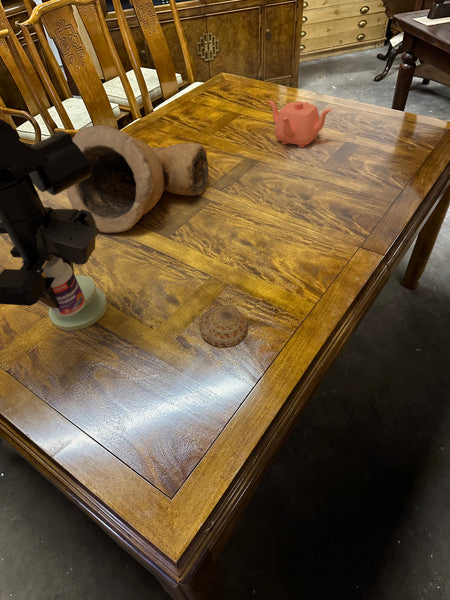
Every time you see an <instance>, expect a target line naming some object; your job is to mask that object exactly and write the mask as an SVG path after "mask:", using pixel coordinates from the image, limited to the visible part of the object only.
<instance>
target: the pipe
mask: <svg viewBox="0 0 450 600" xmlns="http://www.w3.org/2000/svg"><path fill="white" fill-rule="evenodd" d="M72 140H73V142H74V143H75V144H76V145H77V146H78V147H79V149H80V150H81V151H82V153H83V154H84V156H85V158H87V159H88V162H89V164H90V168H91V175H90V177H89V178H87V179H85V180H83V181H81V182H79V183H77V184H76V185H74V186H72V187H70V188H68V189H66V190H65V191H66V195H67V198H68V201H69V203H70V205H71V207H72V209H77V210H79V211H80V210H82V209H83V210H86V211H89V212H91V214H92V216H93V218H94V220H95V222H96V225H97V228H98V229H99V232H101V233H107V234H109V233H111V234H112V233H122V232H127V231H129V230H131V229H132V228H133V227H134V226H135V225H136V224H137V222H139V221H140V219H141V218H142V216H144V215H146V214H147V213H149V211H151V210H152V209H153V208H155V206H156V204H157V203H158V202H159V201H160V199H161V198H162V195H163V193H164V192H165V191H166V192H169V193H173V194H176V195H182V196H190V197H192V196H199V195H201V194H203V192H204V191H205V189H206V187H207V183H208V178H209V160H208V153H207V150H206V148H205V147H204V145H202V144H200V143H195V142H184V143H175V144H171V145H169V146H166V147H163V146H159V147H151V146H150V145H148V144H147V143H146V142H144V141H142V140H141V139H138V138H136V137H133V136H131V135H129V134H128V133H127V132H125V131H122V130H120V129H117V128H115V127H113V126H110V125H105V124H103V125H102V124H98V125H93V126H92V125H91V126H90V125H89V126H86V127H84V128H82V129H80V130H78V131H77V132H76V133H75V134H74V136H73V137H72Z"/></svg>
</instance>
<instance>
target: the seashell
mask: <svg viewBox="0 0 450 600" xmlns="http://www.w3.org/2000/svg"><path fill="white" fill-rule="evenodd" d="M199 330H200V334H201V336H202V337H203V339H205V341H206V342H208V343H209V344H211V345H213V346H215V347H218V348H229V347H233V346H236V345H238V344H239V343H241V342H242V341H243V340H244V339H245V337H246V335H247V332H248V322H247V319H246V318H245V316H244V315H243V313H242V312H241V311H240V310H239V308H237V307H235V306H233V305H230V304H225V305H219V306H214V307H211V308H210V309H208V310H206V312H205V313H204V314H203V316H202V317H201V320H200V323H199Z"/></svg>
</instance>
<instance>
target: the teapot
mask: <svg viewBox="0 0 450 600" xmlns="http://www.w3.org/2000/svg"><path fill="white" fill-rule="evenodd" d="M267 103H268V104H269V105H270V107H271V109H272V110H271V111H272V121H273V123H274V125H275V130H274V134H275V137H276V139H277V140H278V141H279V142H281V144H282V145H288V144H292V145H297V147H298V148H304V147H306V145H309V144H311V142H313V141H314V140H315V139H316V138H317V136H318V135H319V133H320V131H322V129H323V128H324V125H325V122H326V117H327V115H328V114H329V113H330V112H331V111H333V108H327V109H324V110H322V112H321V113H319V109H318V107H317V105H315V104H311V103H310V102H308V101H304V102H303V101H301V100H298V101H295V102H294V101H293V102H292V101H291V102H289V103H287V104H286V105H285V106H283V107H282V108H281V109H280V111H279V109H278V105H277V104H276V103H275V101H273V100H267Z"/></svg>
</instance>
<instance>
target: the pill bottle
mask: <svg viewBox="0 0 450 600" xmlns="http://www.w3.org/2000/svg"><path fill="white" fill-rule="evenodd" d="M43 269H44V271H45V275H46V277H55V280H54V281H53V283H52V284H51V286H52V289H53V291H54V293H55V296H56V298H57V300H58V303H59V308H52V307H49V308H51V310H52V311H53V313H54V314H56V315H57V316H61V317H67V316H71V315H74V314H76V313H77V312H79V311H80V310H81V309H82V308H83V307H84V305H85V297H84V295H83V293H82V290H81V288H80V286H79V284H78V282H77V279H76V277H75V275H76V274H75V272H74V273H73V270H72V268H71V267H70V265H69V264H67V263H65V262H63V260H62V259H61V258H58V257H55V256H54V255H53V258H52V260H51V261H48V262H47V263H46V265H45V266H44V267H43Z"/></svg>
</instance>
